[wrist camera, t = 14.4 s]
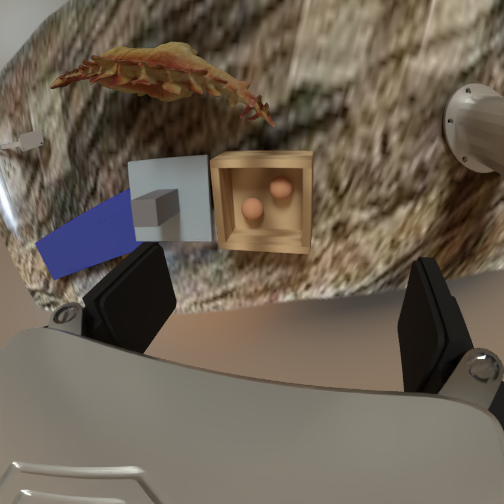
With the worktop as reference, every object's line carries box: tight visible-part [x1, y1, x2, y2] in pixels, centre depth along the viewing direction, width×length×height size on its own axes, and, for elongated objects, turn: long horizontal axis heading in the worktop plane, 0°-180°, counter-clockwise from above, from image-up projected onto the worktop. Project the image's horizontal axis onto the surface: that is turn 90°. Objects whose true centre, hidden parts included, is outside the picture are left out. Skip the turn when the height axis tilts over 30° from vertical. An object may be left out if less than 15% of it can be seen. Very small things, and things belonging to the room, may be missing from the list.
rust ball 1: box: [241, 198, 263, 220], centre depth 40 cm, size 3×3×3 cm
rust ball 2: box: [270, 176, 293, 200], centre depth 38 cm, size 3×3×3 cm
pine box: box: [210, 151, 313, 254], centre depth 39 cm, size 12×12×6 cm
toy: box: [50, 42, 275, 127], centre depth 30 cm, size 9×32×15 cm, turn 73°
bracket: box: [0, 129, 43, 151], centre depth 45 cm, size 3×21×10 cm, turn 89°
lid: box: [128, 155, 213, 242], centre depth 39 cm, size 12×12×9 cm
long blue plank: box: [35, 188, 160, 280], centre depth 52 cm, size 34×3×10 cm
